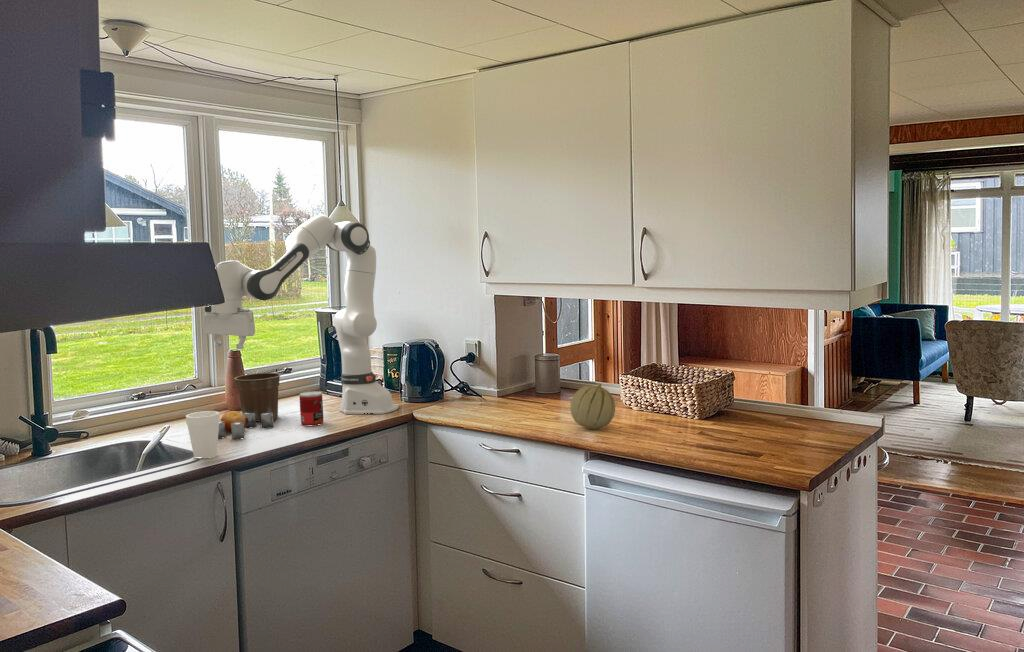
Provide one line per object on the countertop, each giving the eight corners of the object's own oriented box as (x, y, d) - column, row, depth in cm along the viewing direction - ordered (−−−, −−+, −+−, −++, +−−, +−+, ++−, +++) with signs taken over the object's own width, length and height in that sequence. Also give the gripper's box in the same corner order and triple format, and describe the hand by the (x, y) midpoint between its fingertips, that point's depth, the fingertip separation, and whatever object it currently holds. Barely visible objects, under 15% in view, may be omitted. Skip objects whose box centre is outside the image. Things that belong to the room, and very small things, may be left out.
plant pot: (227, 422, 285) (224, 378, 283) (260, 413, 299) (257, 371, 297) (260, 425, 277) (257, 380, 275) (292, 416, 291) (290, 373, 290)
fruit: (234, 423, 276) (239, 405, 272) (246, 437, 272) (251, 419, 269) (213, 427, 270) (218, 409, 266) (224, 441, 266) (230, 423, 262)
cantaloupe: (561, 429, 259) (560, 384, 258) (592, 421, 268) (591, 378, 267) (593, 436, 248) (593, 389, 246) (625, 428, 257) (624, 383, 256)
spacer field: (275, 426, 275) (275, 412, 275) (239, 439, 257) (238, 425, 256) (235, 424, 281) (234, 410, 280) (196, 437, 262) (195, 422, 261)
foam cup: (182, 460, 233) (179, 417, 232) (199, 452, 242) (196, 410, 241) (211, 460, 231) (209, 417, 230) (227, 452, 241) (225, 411, 239)
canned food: (318, 426, 273) (316, 395, 272) (296, 426, 275) (295, 395, 274) (327, 421, 281) (325, 391, 280) (306, 421, 282) (305, 391, 281)
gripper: (259, 308, 265) (259, 349, 266) (212, 306, 273) (213, 345, 274) (246, 309, 259) (246, 350, 261) (198, 307, 267) (199, 347, 268)
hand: (229, 348), depth 267 cm, fingers open, 8 cm apart
